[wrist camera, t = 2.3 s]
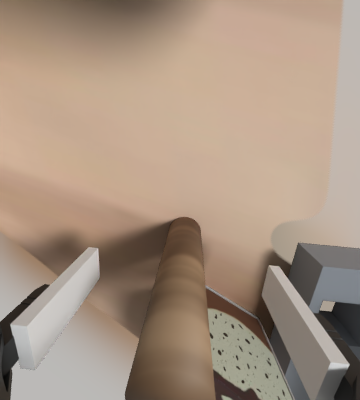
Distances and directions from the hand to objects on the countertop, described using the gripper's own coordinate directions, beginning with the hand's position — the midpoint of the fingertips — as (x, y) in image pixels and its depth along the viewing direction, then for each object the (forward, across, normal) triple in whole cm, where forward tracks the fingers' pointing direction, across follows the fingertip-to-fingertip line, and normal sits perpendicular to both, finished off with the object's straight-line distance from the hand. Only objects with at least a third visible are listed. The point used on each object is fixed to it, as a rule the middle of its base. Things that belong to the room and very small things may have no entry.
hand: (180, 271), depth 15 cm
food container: (+7, +4, -11) cm, 13 cm away
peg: (+6, 0, 0) cm, 6 cm away
